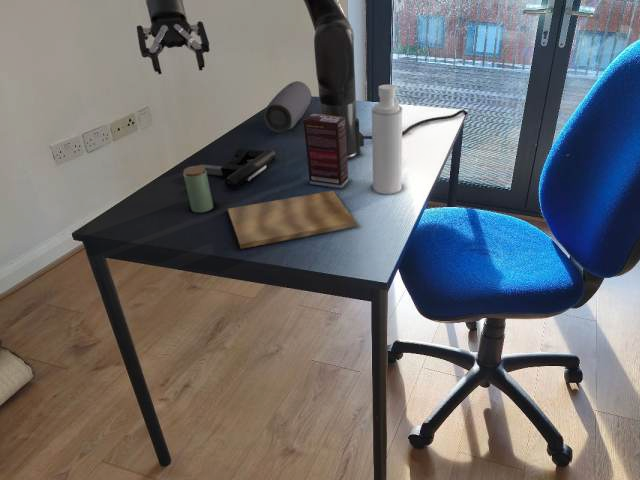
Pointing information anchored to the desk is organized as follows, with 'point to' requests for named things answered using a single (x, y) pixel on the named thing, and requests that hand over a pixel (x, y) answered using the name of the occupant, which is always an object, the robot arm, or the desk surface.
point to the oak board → (289, 219)
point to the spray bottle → (387, 142)
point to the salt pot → (198, 189)
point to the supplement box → (326, 150)
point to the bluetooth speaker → (287, 107)
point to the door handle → (242, 166)
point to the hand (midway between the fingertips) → (180, 70)
